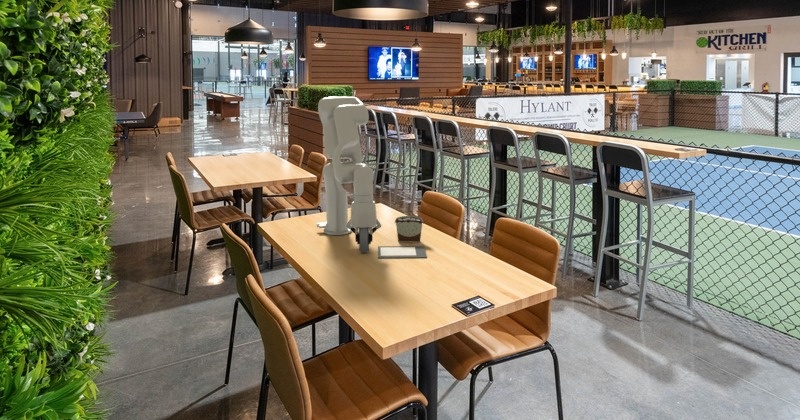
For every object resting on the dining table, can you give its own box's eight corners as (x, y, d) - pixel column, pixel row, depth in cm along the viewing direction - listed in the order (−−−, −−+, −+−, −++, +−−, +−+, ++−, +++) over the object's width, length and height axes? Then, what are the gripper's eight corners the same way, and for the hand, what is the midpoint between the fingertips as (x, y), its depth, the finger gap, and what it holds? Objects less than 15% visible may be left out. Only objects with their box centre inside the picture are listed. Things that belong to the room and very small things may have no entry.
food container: (424, 238, 252) (424, 215, 250) (423, 242, 246) (423, 219, 244) (396, 237, 254) (396, 215, 251) (394, 241, 248) (394, 218, 245)
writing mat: (377, 258, 225) (377, 257, 225) (378, 247, 239) (378, 246, 239) (426, 257, 225) (426, 256, 225) (424, 246, 240) (424, 245, 240)
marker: (358, 252, 230) (358, 220, 227) (359, 248, 234) (358, 217, 231) (369, 251, 230) (368, 220, 227) (369, 248, 234) (369, 217, 231)
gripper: (341, 200, 223) (342, 246, 227) (384, 200, 224) (385, 245, 228) (342, 196, 230) (343, 241, 235) (384, 196, 231) (385, 240, 235)
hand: (364, 242), depth 231 cm, fingers closed on marker, 4 cm apart
